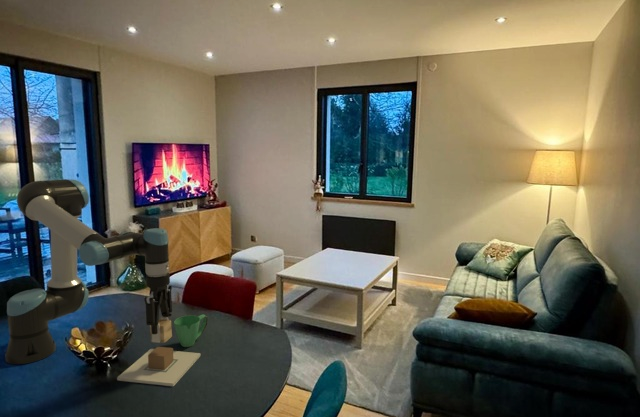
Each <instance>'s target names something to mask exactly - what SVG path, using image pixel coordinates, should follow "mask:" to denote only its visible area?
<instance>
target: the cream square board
mask: <svg viewBox="0 0 640 417" xmlns="http://www.w3.org/2000/svg"><path fill="white" fill-rule="evenodd" d="M200 357H201V353H200V352H190V351H189V352H188V351H181V350H178V351H177V350H174V348H173V347H165V346H156V347H155V348H150V349H149V350H148V351H146V352H145V353H144V354H142V356H141V357H140V358H138V359H137V360H135V361H134V363H133V364H132V365H130V366H129V367H128V368H126V369H125V370H124V371H123V372H122V373H121V374H119V375H118V376H117V377H116V380H117V381H120V382H129V383H140V384H147V385H158V386H165V387H174V386H175V385H176V384H177V383H178V382H179V381H180V380H181V379H182V377H183V376H184V375H185V374H186V373H187V372H188V371H189V369H190V368H192V366H193V365H194V364H195V362H197V361H198V360H199V358H200Z"/></svg>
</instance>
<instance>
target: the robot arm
mask: <svg viewBox="0 0 640 417" xmlns="http://www.w3.org/2000/svg"><path fill="white" fill-rule="evenodd" d="M89 202H90V196H89V192H88V189H87V188H86V186H85V185H84V184H83V183H82V182H81V181H79V180H77V179H70V178H68V179H65V178H62V179H50V180H49V179H48V180H36V181H32V182H31V181H30V182H29V183H27V184H25V185H24V186H22V187H21V189H20V190H19V191H18V193H17V196H16V203H17V207H18V209H19V210H20V212H21V213H22V214H23V215H24V216H26V217H27V218H28V219H30V220H31V221H37V222H39V223H40V224H42V225H44V226H45V227H46V228H47V229H49V230H50V264H51V265H50V269H51V271H50V273H51V274H50V275H51V278H50V279H49V280H47V282H46V290H45V289H43V288H32V289H27V290H23V291H20V292H18V293H16V294H14V295H13V296H11V297H10V298H8V301H7V302H6V314H7V323H8V334H9V341H8V345H7V348H6V351H5V354H4V356H5V357H4V358H5V362H6V363H8V364H11V365H25V364H26V365H27V364H29V363H35V362H37V361H41V360H44V359H45V358H47V357H49V356H52V354H53V353H55V351H56V346H57V345H56V342H55V340H54V339H53V336H52V334H51V332H50V330H49V322H51V321H53V320H55V319H56V320H57V319H59V318H62V317H65V316H66V315H67V316H68V315H70V314H74V313H76V312H77V311H80V310H82V309H83V308H84V307H85V306H86V305H87V303H88V302H89V301H88V300H89V294H90V293H89V289H88V288H87V285H86V283H84V282H83V281H82V279H81V277H79V276H78V256H79V259H80V260H81V261H82V263H83V264H84V265H85V266H88V267H92V266H97V265H99V266H100V265H103V264H106V263H110V262H112V261H117V260H120V259H124V258H127V257H130V256H136V255H137V256H143V257H144V264H145V266H144V268H145V274H146V276H145V283H146V286H147V287H148V288H149V293H148V294H149V295H148V296H145V297H144V298H143V299H144V303H145V317H146V318H145V319H146V321H145V322H146V326H150V325H151V331H152V342H151V343H157V344H160V342H161V338H160V324H158V320H170V319H169V317H172V312H173V300H172V289H173V286H172V285H170V282H171V276H170V259H169V257H170V256H169V237H168V231H167V229H166V228H162V227H161V228H160V227H159V228H157V227H155V228H148V229H145V230H144V231H143V233H140V232H135V231H123V232H121V233H120V234H118V235H117V236H112V237H107V238H106V237H104V236H103V235H101V234H100V233H99V232H97V231H96V230H94V229H92V228H91V227H90V226H88V225H87V224H85V223H84V222H82V221H81V220H79V218H80V217H81V216H82V215H83V214H82V209H84V208H87V206H88V205H89ZM160 314H161V316H160Z"/></svg>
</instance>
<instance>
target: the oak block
mask: <svg viewBox="0 0 640 417" xmlns="http://www.w3.org/2000/svg"><path fill="white" fill-rule="evenodd" d="M158 324H160V338H161V342H160V343H161V344H165V343H166V342H168V341H169V339H171V338H172V337H173V333H172V332H173V330H172V320H171V319H169V320H160V319H159V320H158ZM149 331H150V332H149V333H150V342H151V343H153V342H152V331H151V325H149ZM160 343H159V344H160Z"/></svg>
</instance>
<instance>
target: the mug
mask: <svg viewBox="0 0 640 417" xmlns="http://www.w3.org/2000/svg"><path fill="white" fill-rule="evenodd" d="M201 321H202V323H201ZM173 326H174V329H175V333H176V336H177V338H178V341H179V343H180V346H181V347H184V348H190V347H193V346H194V345H195V342H196V340H197V339H198V338H200V336H201V335H202V334H203V333H204V331H205V329H206V328H207V326H208V316H206V315H205V314H200V315H194V314H193V315H190V314H188V315H182V316H179V317H177V318H175V320H174V321H173Z"/></svg>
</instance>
